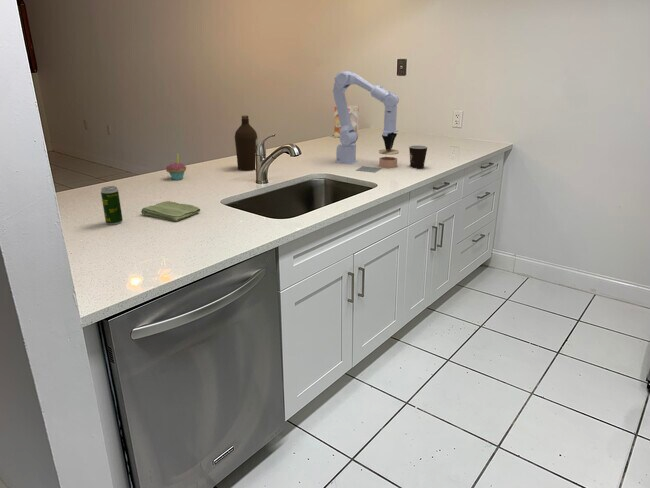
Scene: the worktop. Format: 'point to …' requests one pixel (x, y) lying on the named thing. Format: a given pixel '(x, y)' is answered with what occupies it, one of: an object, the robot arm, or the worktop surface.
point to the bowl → (388, 162)
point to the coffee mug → (417, 156)
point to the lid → (388, 151)
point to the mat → (368, 169)
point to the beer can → (111, 205)
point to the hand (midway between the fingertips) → (388, 148)
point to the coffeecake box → (353, 117)
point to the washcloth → (170, 211)
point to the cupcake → (176, 169)
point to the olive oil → (245, 145)
